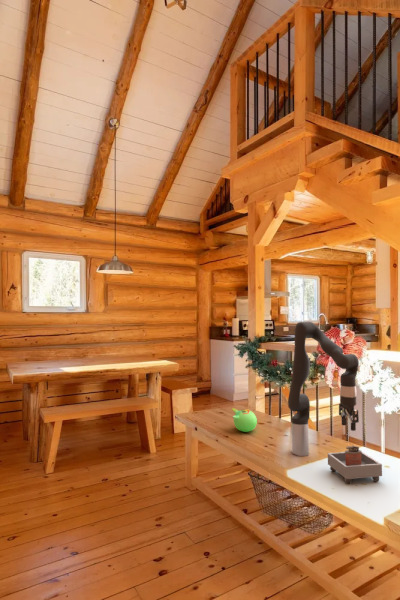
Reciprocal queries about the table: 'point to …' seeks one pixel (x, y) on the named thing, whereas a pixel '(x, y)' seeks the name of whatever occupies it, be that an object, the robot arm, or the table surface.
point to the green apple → (244, 420)
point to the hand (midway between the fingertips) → (348, 427)
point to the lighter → (353, 456)
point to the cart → (355, 467)
